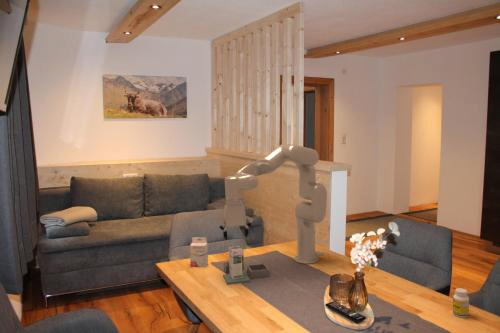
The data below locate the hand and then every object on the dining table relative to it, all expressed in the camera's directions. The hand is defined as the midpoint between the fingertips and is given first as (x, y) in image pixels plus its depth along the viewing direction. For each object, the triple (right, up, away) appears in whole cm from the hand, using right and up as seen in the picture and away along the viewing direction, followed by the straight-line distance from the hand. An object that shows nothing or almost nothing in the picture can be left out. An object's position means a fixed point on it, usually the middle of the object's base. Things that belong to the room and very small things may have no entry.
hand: (236, 237), depth 203 cm
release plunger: (-3, -18, +12) cm, 22 cm away
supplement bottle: (+86, -23, -41) cm, 98 cm away
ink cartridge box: (-20, -19, +23) cm, 36 cm away
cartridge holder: (+11, -19, +8) cm, 23 cm away
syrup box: (0, -19, +2) cm, 19 cm away
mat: (0, -20, +2) cm, 20 cm away
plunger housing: (-3, -19, +12) cm, 23 cm away
